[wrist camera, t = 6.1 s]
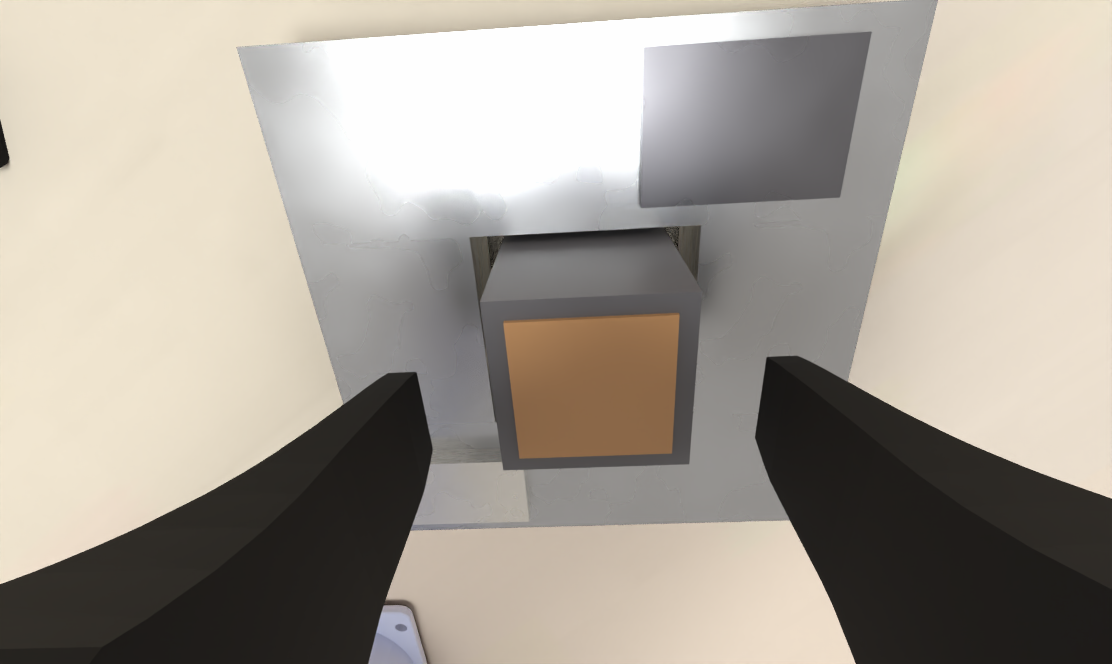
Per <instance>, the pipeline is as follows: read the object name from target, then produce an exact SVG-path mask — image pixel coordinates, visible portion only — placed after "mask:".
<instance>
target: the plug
mask: <svg viewBox="0 0 1112 664" xmlns="http://www.w3.org/2000/svg"><path fill="white" fill-rule="evenodd" d="M701 302H702V290H701V288H700V287H699V285H698V283H697V282H696V280H695V278H694V277H693V275H692V273H691V272H690V270H689V268H688V267H687V265H686V263H685V262H684V260H683V258H682V257H681V255H680V253H679V252H678V250H677V248H676V247H675V245H674V243H673V242H672V240H671V238H670V237H669V235H668V233H667V232H666V230H665V228H664V227H656V228H637V229H618V230H599V231H579V232H560V233H541V234H522V235H504V238H503V241H502V243H501V246H500V249H499V251H498V254H497V257H496V259H495V262H494V265H493V267H492V270H491V273H490V276H489V278H488V281H487V284H486V286H485V289H484V292H483V294H482V297H481V300H480V308H481V315H482V322H483V329H484V336H485V344H486V351H487V358H488V365H489V372H490V379H491V387H492V394H493V401H494V408H495V415H496V422H497V429H498V437H499V444H500V451H501V458H502V465H503V470H533V469H563V468H594V467H624V466H654V465H685V464H689V461H690V448H691V434H692V421H693V408H694V395H695V381H696V368H697V355H698V342H699V328H700V315H701Z"/></svg>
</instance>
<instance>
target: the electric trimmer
mask: <svg viewBox="0 0 1112 664" xmlns="http://www.w3.org/2000/svg"><path fill="white" fill-rule="evenodd" d="M8 160H9V154H8V150H7V146H6V142H5V138H4V134H3V130H2V126H1V121H0V168H1V167H2V166H4V165H5V164H7V162H8Z"/></svg>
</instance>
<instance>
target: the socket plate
mask: <svg viewBox="0 0 1112 664" xmlns="http://www.w3.org/2000/svg"><path fill="white" fill-rule="evenodd" d="M937 2H938V0H902V1H888V2H874V3H859V4H845V5H831V6H816V7H802V8H788V9H774V10H759V11H745V12H731V13H716V14H702V15H688V16H674V17H659V18H645V19H631V20H616V21H602V22H588V23H573V24H559V25H545V26H531V27H516V28H502V29H488V30H473V31H459V32H445V33H431V34H416V35H402V36H388V37H373V38H359V39H345V40H331V41H316V42H302V43H288V44H273V45H259V46H245V47H237V51H238V54H239V57H240V60H241V64H242V67H243V70H244V74H245V77H246V80H247V84H248V87H249V90H250V94H251V97H252V100H253V104H254V107H255V110H256V114H257V117H258V120H259V124H260V127H261V130H262V134H263V137H264V140H265V144H266V147H267V150H268V154H269V157H270V160H271V164H272V167H273V170H274V174H275V177H276V180H277V184H278V187H279V190H280V194H281V197H282V200H283V204H284V207H285V210H286V214H287V217H288V220H289V224H290V227H291V230H292V234H293V237H294V240H295V244H296V247H297V250H298V254H299V257H300V260H301V264H302V267H303V270H304V274H305V277H306V280H307V284H308V287H309V290H310V294H311V297H312V300H313V304H314V307H315V310H316V314H317V317H318V320H319V324H320V327H321V330H322V334H323V337H324V340H325V344H326V347H327V350H328V354H329V357H330V360H331V364H332V367H333V370H334V374H335V377H336V380H337V384H338V387H339V390H340V394H341V397H342V400H343V404H345V403H346V402H348V401H349V400H350V399H352V398H353V397H354V396H356V395H357V394H358V393H360V392H361V391H362V390H364V389H365V388H366V387H368V386H369V385H371V384H372V383H373V382H375V381H376V380H378V379H379V378H381V377H382V376H384V375H386V374H387V373H398V372H417V376H418V381H419V385H420V390H421V395H422V399H423V404H424V409H425V414H426V418H427V423H428V428H429V433H430V437H431V442H432V447H433V452H432V457H431V462H430V467H429V472H428V477H427V481H426V485H425V490H424V493H423V496H422V499H421V502H420V505H419V508H418V511H417V513H416V516H415V519H414V522H413V525H412V527H411V530H443V529H481V528H518V527H555V526H593V525H630V524H667V523H705V522H742V521H779V520H789V518H788V516H787V514H786V512H785V510H784V508H783V506H782V504H781V502H780V500H779V498H778V496H777V494H776V492H775V490H774V488H773V486H772V484H771V482H770V480H769V477H768V474H767V472H766V469H765V466H764V464H763V461H762V458H761V455H760V452H759V449H758V446H757V443H756V440H755V433H756V426H757V419H758V412H759V405H760V398H761V392H762V385H763V378H764V371H765V364H766V357H775V356H799V357H802V358H804V359H806V360H808V361H810V362H812V363H814V364H816V365H818V366H820V367H822V368H824V369H826V370H827V371H829V372H831V373H833V374H835V375H836V376H838V377H840V378H842V379H844V380H845V381H847V382H848V378H849V373H850V369H851V365H852V361H853V357H854V352H855V348H856V344H857V340H858V335H859V331H860V327H861V323H862V319H863V314H864V310H865V306H866V302H867V297H868V293H869V289H870V285H871V281H872V276H873V272H874V268H875V264H876V259H877V255H878V251H879V247H880V242H881V238H882V234H883V230H884V226H885V221H886V217H887V213H888V209H889V204H890V200H891V196H892V192H893V188H894V183H895V179H896V175H897V171H898V166H899V162H900V158H901V154H902V150H903V145H904V141H905V137H906V133H907V128H908V124H909V120H910V116H911V111H912V107H913V103H914V99H915V95H916V90H917V86H918V82H919V78H920V73H921V69H922V65H923V61H924V57H925V52H926V48H927V44H928V40H929V35H930V31H931V27H932V23H933V19H934V14H935V10H936V6H937ZM675 226H679V238H678V252H679V253H680V255H681V257H682V258H683V260H684V262H685V263H686V265H687V267H688V268H689V270H690V272H691V273H692V275H693V277H694V278H695V280H696V282H697V283H698V285H699V287H700V288H701V290H702V302H701V315H700V328H699V342H698V355H697V368H696V381H695V395H694V408H693V421H692V434H691V448H690V461H689V464H685V465H654V466H624V467H594V468H563V469H533V470H503V465H502V458H501V451H500V444H499V437H498V429H497V422H496V415H495V408H494V401H493V394H492V387H491V379H490V372H489V365H488V358H487V351H486V344H485V336H484V329H483V322H482V315H481V308H480V300H481V297H482V294H483V292H484V289H485V286H486V284H487V281H488V278H489V276H490V273H491V262H490V254H489V246H488V238H487V236H503V235H522V234H541V233H560V232H579V231H599V230H618V229H637V228H656V227H675Z"/></svg>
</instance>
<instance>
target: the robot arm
mask: <svg viewBox="0 0 1112 664" xmlns="http://www.w3.org/2000/svg"><path fill="white" fill-rule="evenodd" d="M755 440H756V443H757V446H758V449H759V452H760V455H761V458H762V461H763V464H764V466H765V469H766V472H767V474H768V477H769V480H770V482H771V484H772V486H773V488H774V490H775V492H776V494H777V496H778V498H779V500H780V502H781V504H782V506H783V508H784V510H785V512H786V514H787V516H788V518H789V520H790V521H791V523H792V525H793V527H794V529H795V531H796V533H797V535H798V537H799V539H800V541H801V543H802V544H803V546H804V548H805V550H806V552H807V554H808V556H809V558H810V560H811V562H812V564H813V566H814V568H815V569H816V571H817V573H818V575H819V577H820V579H821V581H822V583H823V585H824V588H825V590H826V592H827V594H828V596H829V598H830V600H831V602H832V605H833V607H834V610H835V612H836V615H837V617H838V620H839V622H840V625H841V627H842V630H843V632H844V635H845V637H846V640H847V642H848V645H849V647H850V650H851V652H852V655H853V657H854V660H855V663H856V664H1112V499H1111V498H1108V497H1105V496H1103V495H1100V494H1097V493H1094V492H1091V491H1088V490H1085V489H1083V488H1080V487H1077V486H1074V485H1071V484H1068V483H1066V482H1063V481H1060V480H1057V479H1054V478H1052V477H1049V476H1046V475H1044V474H1041V473H1038V472H1036V471H1033V470H1031V469H1028V468H1025V467H1023V466H1020V465H1018V464H1016V463H1013V462H1011V461H1008V460H1006V459H1004V458H1001V457H999V456H996V455H994V454H992V453H989V452H987V451H984V450H982V449H980V448H977V447H975V446H973V445H970V444H968V443H966V442H964V441H962V440H959V439H957V438H955V437H953V436H951V435H949V434H947V433H945V432H942V431H940V430H938V429H936V428H934V427H932V426H930V425H928V424H926V423H924V422H922V421H920V420H918V419H916V418H914V417H912V416H910V415H908V414H906V413H904V412H902V411H900V410H898V409H897V408H895V407H893V406H891V405H889V404H887V403H885V402H883V401H882V400H880V399H878V398H876V397H874V396H872V395H871V394H869V393H867V392H865V391H863V390H862V389H860V388H858V387H856V386H854V385H853V384H851V383H849V382H847V381H845V380H844V379H842V378H840V377H838V376H836V375H835V374H833V373H831V372H829V371H827V370H826V369H824V368H822V367H820V366H818V365H816V364H814V363H812V362H810V361H808V360H806V359H804V358H802V357H799V356H775V357H766V364H765V371H764V378H763V385H762V392H761V398H760V405H759V412H758V419H757V426H756V433H755ZM432 452H433V447H432V442H431V437H430V433H429V428H428V423H427V418H426V414H425V409H424V404H423V399H422V395H421V390H420V385H419V381H418V376H417V372H398V373H387V374H386V375H384V376H382V377H381V378H379V379H378V380H376V381H375V382H373V383H372V384H371V385H369V386H368V387H366V388H365V389H364V390H362V391H361V392H360V393H358V394H357V395H356V396H354V397H353V398H352V399H350V400H349V401H348V402H346V403H345V404H344V405H342V406H341V407H340V408H338V409H337V410H336V411H334V412H333V413H331V414H330V415H329V416H327V417H326V418H325V419H323V420H322V421H321V422H319V423H318V424H317V425H315V426H314V427H312V428H311V429H309V430H308V431H306V432H305V433H304V434H302V435H301V436H299V437H298V438H296V439H295V440H293V441H292V442H290V443H289V444H287V445H286V446H284V447H283V448H281V449H280V450H279V451H277V452H276V453H274V454H273V455H271V456H270V457H268V458H266V459H265V460H263V461H262V462H260V463H259V464H257V465H255V466H254V467H252V468H250V469H249V470H247V471H245V472H244V473H242V474H240V475H239V476H237V477H235V478H233V479H232V480H230V481H228V482H226V483H225V484H223V485H221V486H219V487H218V488H216V489H214V490H212V491H210V492H208V493H207V494H205V495H203V496H201V497H199V498H197V499H195V500H193V501H191V502H189V503H187V504H185V505H183V506H181V507H179V508H177V509H175V510H173V511H171V512H169V513H167V514H165V515H163V516H161V517H159V518H157V519H155V520H153V521H151V522H149V523H147V524H145V525H143V526H141V527H139V528H136V529H134V530H132V531H130V532H128V533H125V534H123V535H121V536H119V537H116V538H114V539H112V540H110V541H107V542H105V543H103V544H101V545H98V546H96V547H94V548H91V549H89V550H86V551H84V552H82V553H79V554H77V555H74V556H72V557H70V558H67V559H65V560H63V561H60V562H58V563H55V564H53V565H50V566H48V567H45V568H43V569H40V570H38V571H35V572H32V573H30V574H27V575H24V576H22V577H19V578H16V579H14V580H11V581H8V582H5V583H3V584H0V664H427V661H426V657H425V654H424V651H423V647H422V644H421V640H420V637H419V633H418V630H417V627H416V623H415V620H414V616H413V613H412V611H411V610H410V609H409V608H408V607H406V606H402V605H384V603H385V600H386V597H387V594H388V590H389V588H390V585H391V582H392V580H393V577H394V574H395V571H396V569H397V566H398V563H399V560H400V558H401V555H402V552H403V549H404V547H405V544H406V541H407V538H408V536H409V533H410V530H411V527H412V525H413V522H414V519H415V516H416V513H417V511H418V508H419V505H420V502H421V499H422V496H423V493H424V490H425V485H426V481H427V477H428V472H429V467H430V462H431V457H432Z"/></svg>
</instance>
